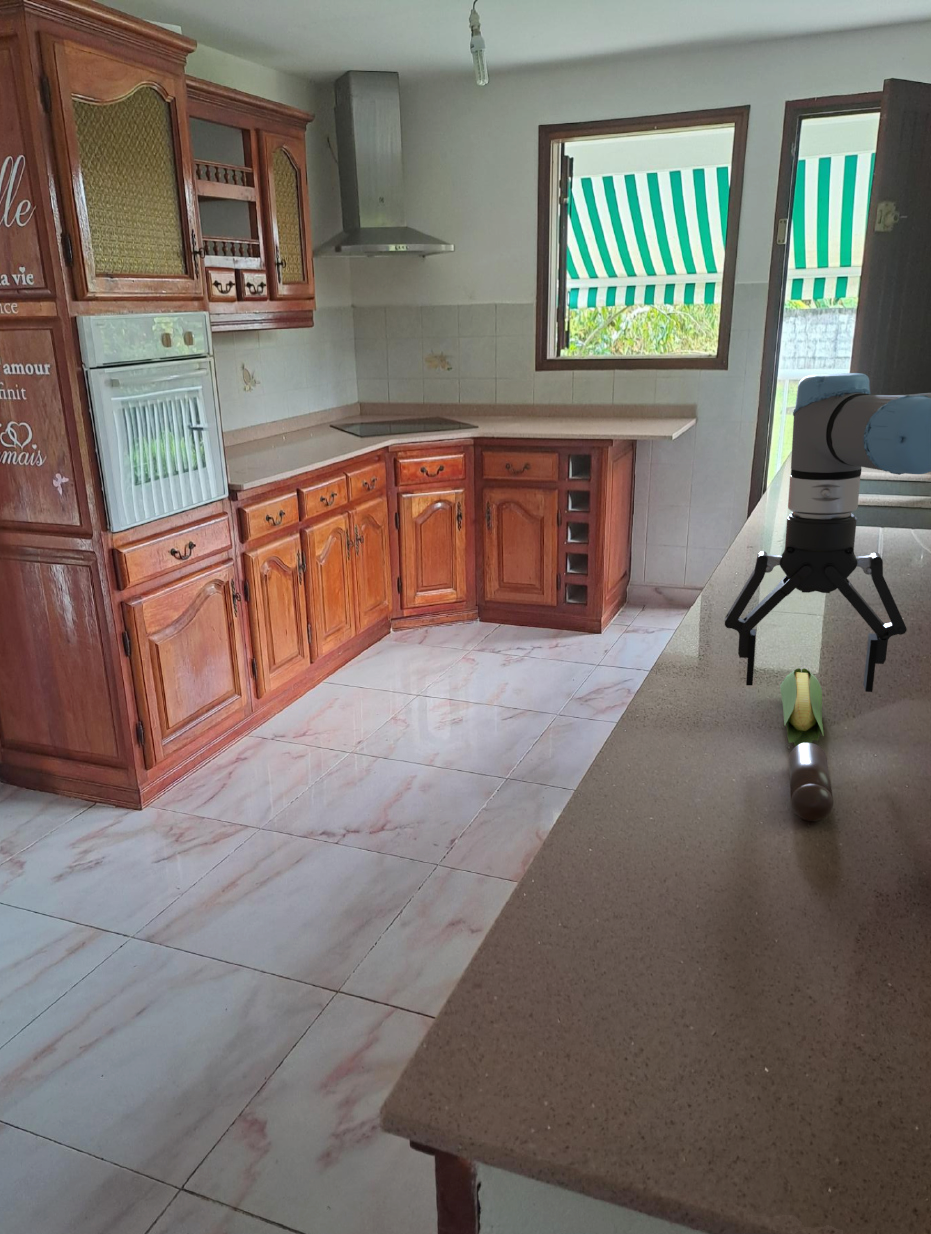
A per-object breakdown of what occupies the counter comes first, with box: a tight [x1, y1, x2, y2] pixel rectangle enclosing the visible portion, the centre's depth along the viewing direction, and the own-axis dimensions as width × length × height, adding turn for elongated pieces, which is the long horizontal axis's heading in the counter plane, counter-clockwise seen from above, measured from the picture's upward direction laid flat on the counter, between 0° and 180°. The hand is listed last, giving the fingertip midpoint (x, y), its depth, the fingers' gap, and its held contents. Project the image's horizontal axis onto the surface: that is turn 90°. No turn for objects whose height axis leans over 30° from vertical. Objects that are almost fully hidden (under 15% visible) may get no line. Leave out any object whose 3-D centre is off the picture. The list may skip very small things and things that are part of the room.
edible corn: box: [779, 667, 825, 748], centre depth 121 cm, size 5×20×5 cm, turn 161°
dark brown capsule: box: [788, 742, 834, 822], centre depth 103 cm, size 14×4×4 cm, turn 162°
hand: (807, 685), depth 119 cm, fingers open, 13 cm apart
